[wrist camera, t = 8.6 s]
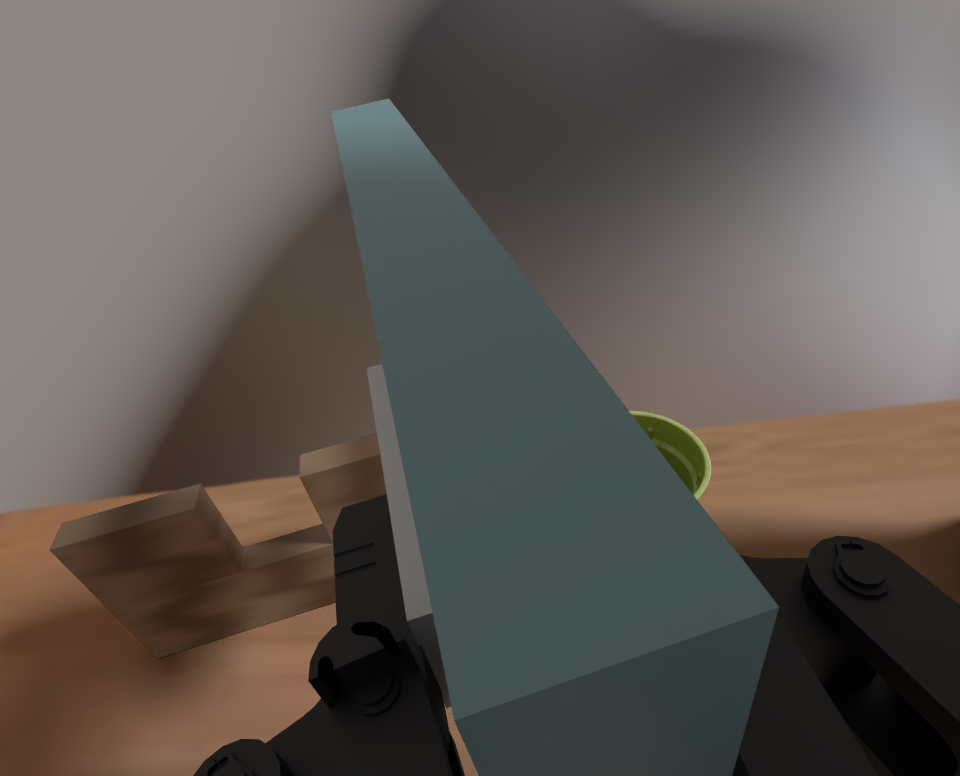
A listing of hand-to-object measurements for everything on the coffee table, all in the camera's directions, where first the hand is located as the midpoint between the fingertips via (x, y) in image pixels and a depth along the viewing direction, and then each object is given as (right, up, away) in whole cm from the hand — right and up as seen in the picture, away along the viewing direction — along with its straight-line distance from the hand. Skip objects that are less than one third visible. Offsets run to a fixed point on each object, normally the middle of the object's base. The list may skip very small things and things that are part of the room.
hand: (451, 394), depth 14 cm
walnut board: (-11, -15, +27) cm, 32 cm away
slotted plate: (+1, -5, +5) cm, 7 cm away
